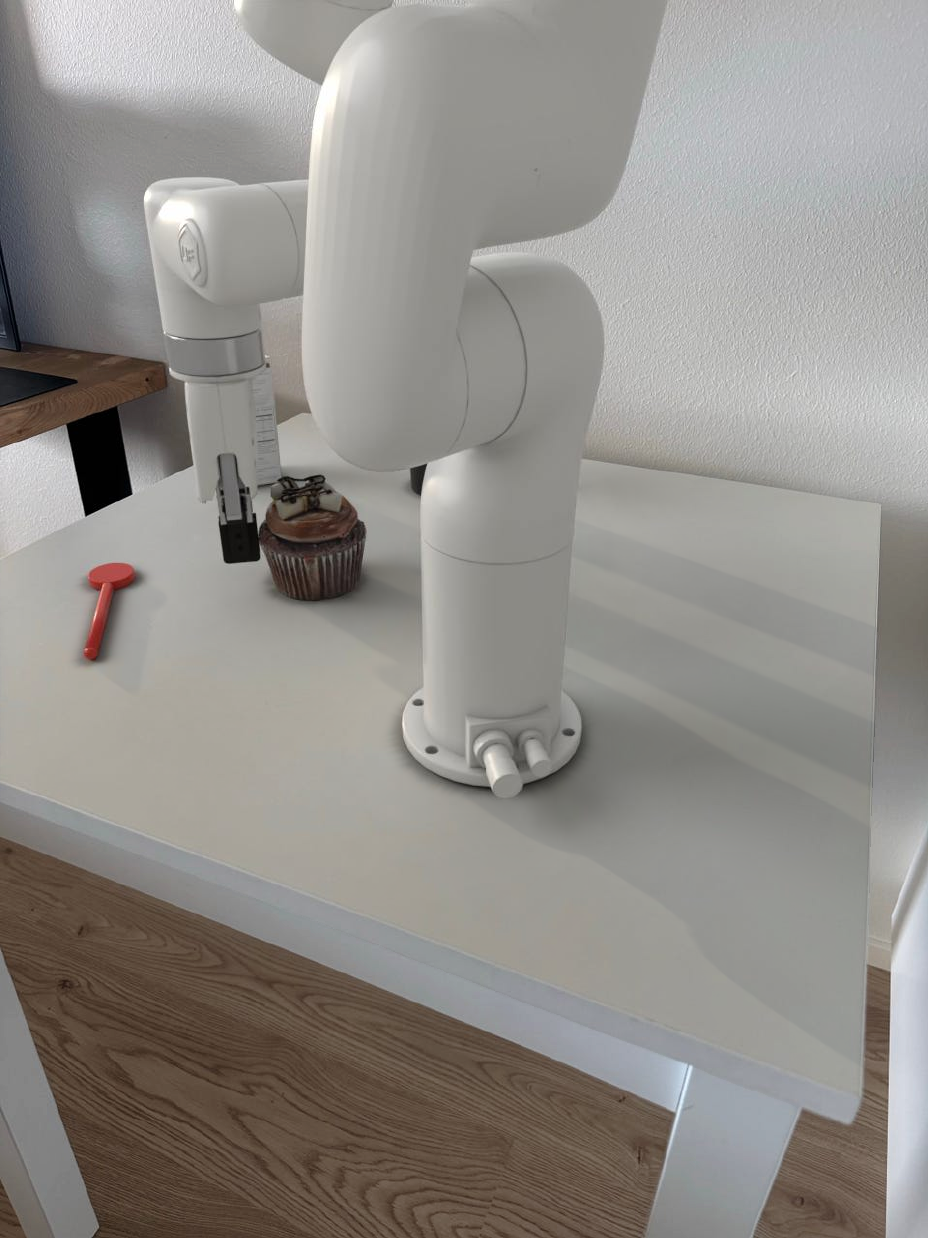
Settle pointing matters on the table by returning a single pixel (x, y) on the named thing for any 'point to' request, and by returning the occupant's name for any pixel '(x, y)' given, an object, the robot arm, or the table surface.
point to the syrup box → (266, 427)
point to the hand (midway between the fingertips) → (242, 558)
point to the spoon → (105, 598)
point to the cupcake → (312, 539)
